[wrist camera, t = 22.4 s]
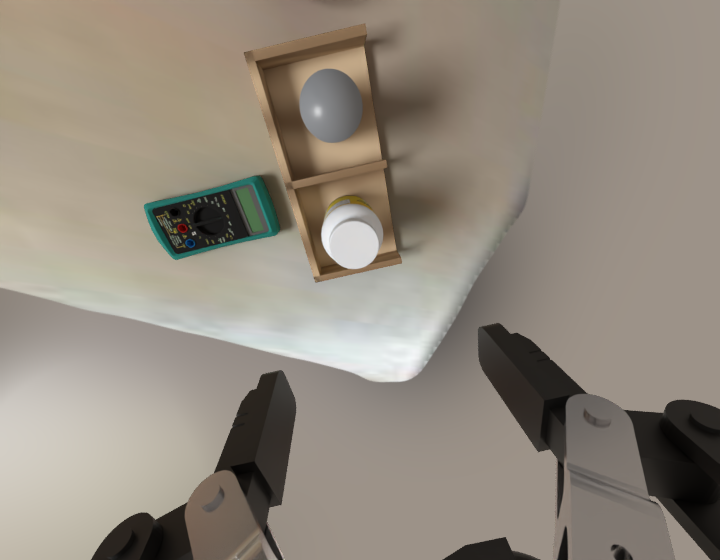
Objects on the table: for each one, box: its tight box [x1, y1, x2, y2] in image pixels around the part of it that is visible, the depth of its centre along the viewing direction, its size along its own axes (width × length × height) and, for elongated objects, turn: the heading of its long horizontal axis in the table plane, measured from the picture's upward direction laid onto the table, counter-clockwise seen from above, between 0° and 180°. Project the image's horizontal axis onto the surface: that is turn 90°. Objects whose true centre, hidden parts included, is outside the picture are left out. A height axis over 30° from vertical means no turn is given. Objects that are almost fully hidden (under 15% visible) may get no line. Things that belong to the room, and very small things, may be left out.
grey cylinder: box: [300, 69, 363, 143], centre depth 26 cm, size 5×5×10 cm
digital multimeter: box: [144, 176, 280, 260], centre depth 34 cm, size 7×15×3 cm, turn 103°
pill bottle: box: [321, 195, 383, 269], centre depth 30 cm, size 6×6×12 cm
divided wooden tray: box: [244, 24, 402, 282], centre depth 32 cm, size 24×12×4 cm, turn 12°
